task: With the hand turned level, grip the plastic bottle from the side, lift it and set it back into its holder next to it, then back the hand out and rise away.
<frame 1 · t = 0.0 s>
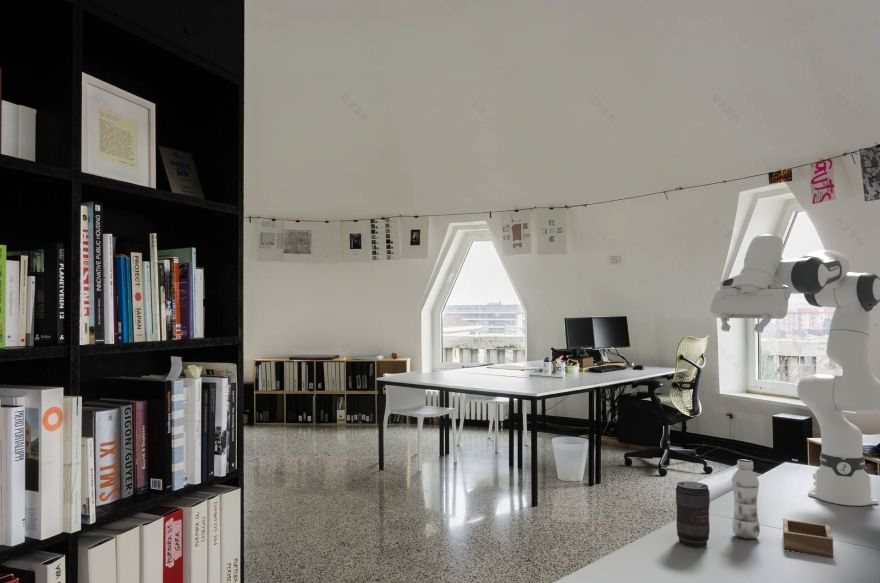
hand: (741, 331, 173), 54 cm above the table, tool tilted 30°, fingers open, 8 cm apart
plastic bottle: (746, 538, 170), on the table
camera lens: (692, 544, 165), on the table
bottle holder: (807, 546, 163), on the table
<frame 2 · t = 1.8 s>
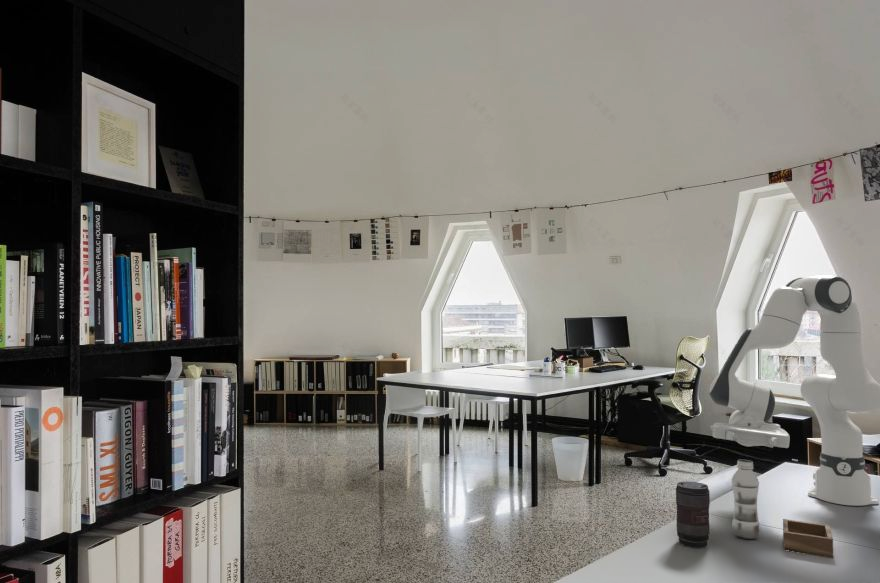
hand: (752, 440, 181), 23 cm above the table, tool horizontal, fingers open, 8 cm apart
nothing on the table moved.
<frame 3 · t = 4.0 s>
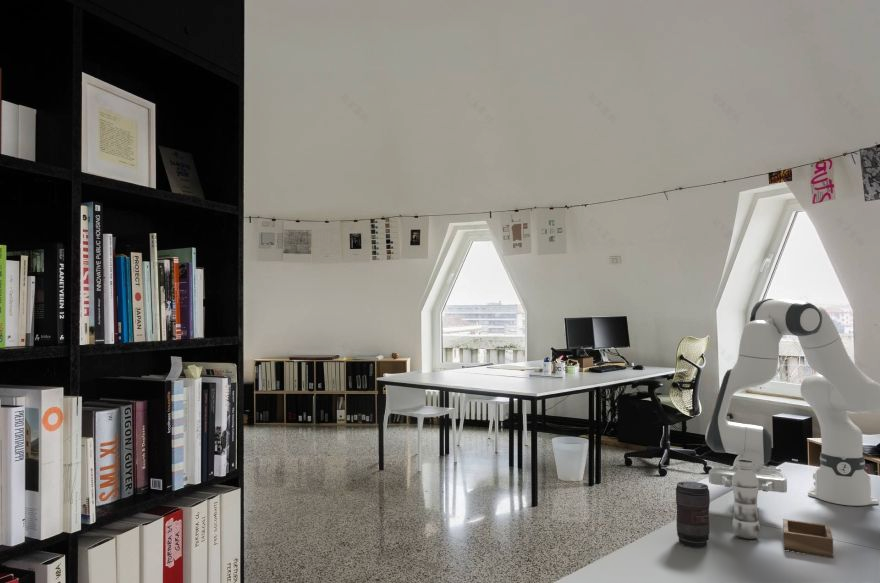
hand: (746, 486, 178), 11 cm above the table, tool horizontal, fingers open, 8 cm apart
nothing on the table moved.
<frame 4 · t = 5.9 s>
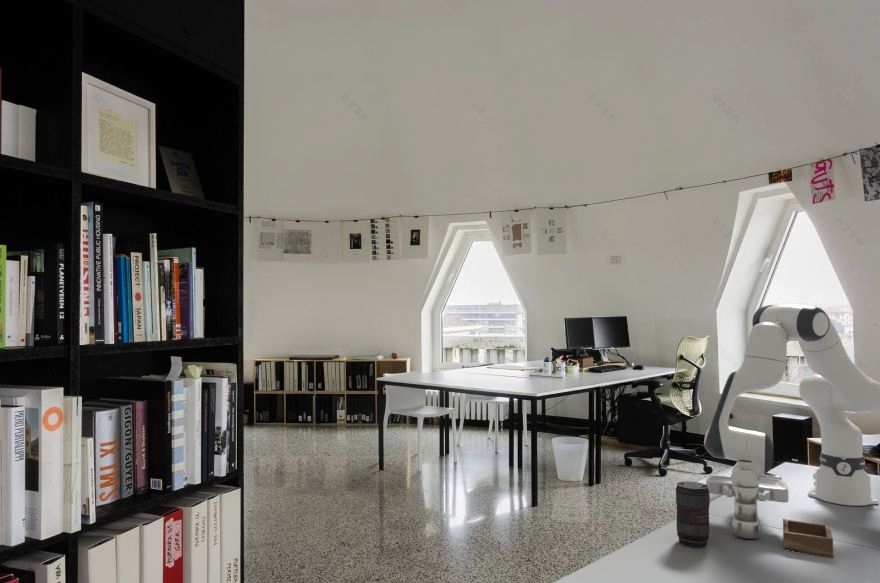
hand: (745, 496, 169), 11 cm above the table, tool horizontal, fingers closed on plastic bottle, 6 cm apart
plastic bottle: (746, 538, 170), on the table, touching gripper
everything else where it was.
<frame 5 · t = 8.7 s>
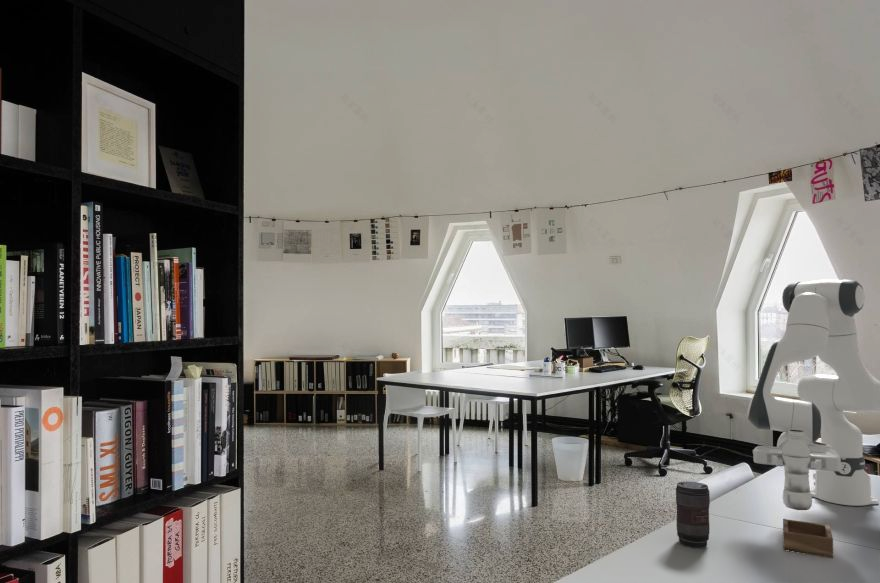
hand: (796, 464, 164), 20 cm above the table, tool horizontal, fingers closed on plastic bottle, 6 cm apart
plastic bottle: (797, 510, 165), point 9 cm above the table, touching gripper
everything else where it was.
when the fingers open (13 cm above the table, at t = 11.3 s): plastic bottle stays where it is, resting on bottle holder.
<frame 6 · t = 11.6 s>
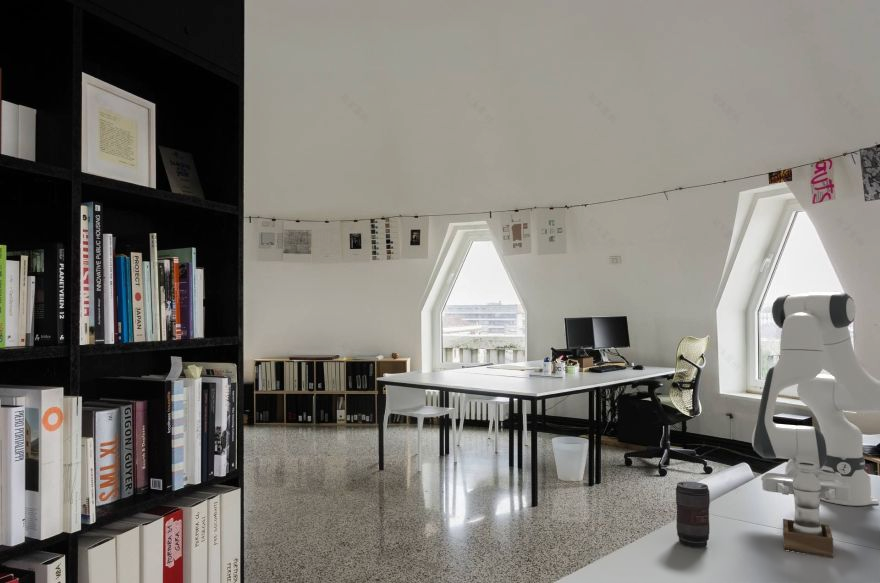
hand: (806, 494, 163), 13 cm above the table, tool horizontal, fingers open, 8 cm apart
plastic bottle: (807, 544, 163), point 1 cm above the table, touching bottle holder
everything else where it was.
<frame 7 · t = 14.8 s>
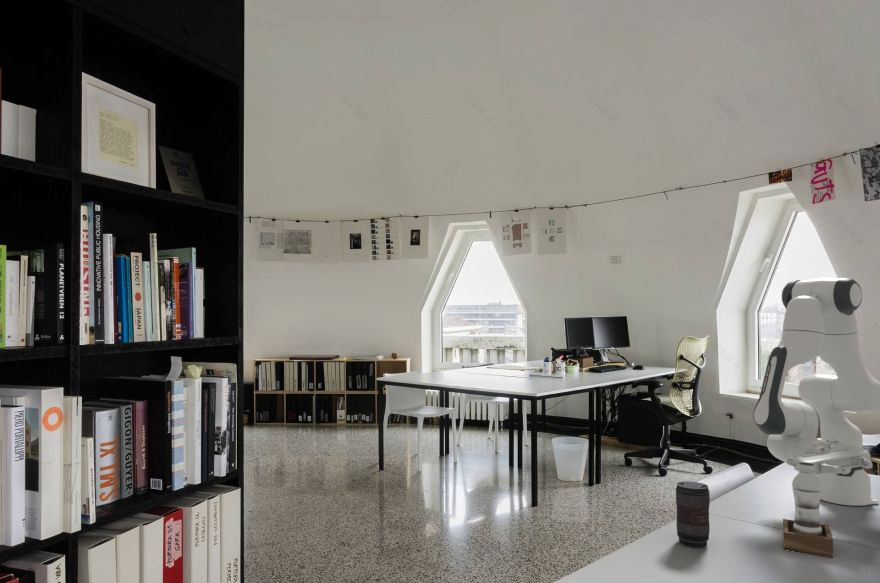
hand: (854, 468, 168), 19 cm above the table, tool horizontal, fingers open, 8 cm apart
nothing on the table moved.
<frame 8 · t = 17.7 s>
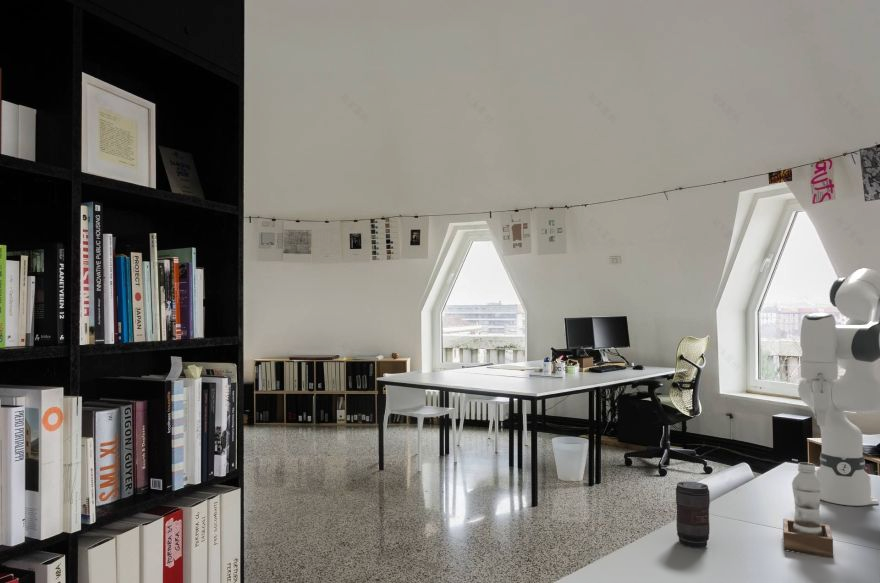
hand: (819, 422, 176), 29 cm above the table, tool pointing down, fingers open, 8 cm apart
nothing on the table moved.
at the end: plastic bottle 0.1 cm off-centre on the bottle holder, point 0.6 cm above the bottle holder's base; plastic bottle tilted 0°; the gripper is holding nothing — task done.
